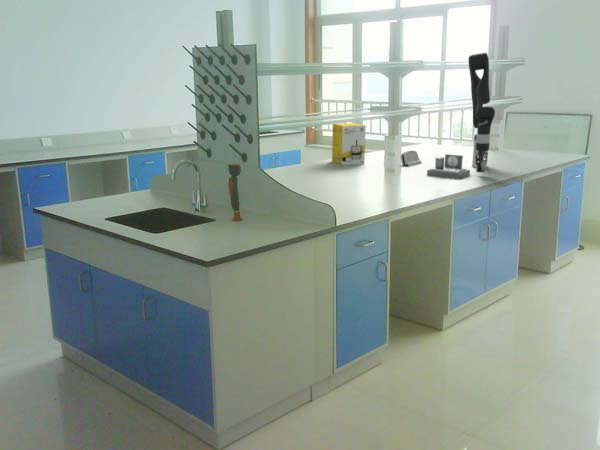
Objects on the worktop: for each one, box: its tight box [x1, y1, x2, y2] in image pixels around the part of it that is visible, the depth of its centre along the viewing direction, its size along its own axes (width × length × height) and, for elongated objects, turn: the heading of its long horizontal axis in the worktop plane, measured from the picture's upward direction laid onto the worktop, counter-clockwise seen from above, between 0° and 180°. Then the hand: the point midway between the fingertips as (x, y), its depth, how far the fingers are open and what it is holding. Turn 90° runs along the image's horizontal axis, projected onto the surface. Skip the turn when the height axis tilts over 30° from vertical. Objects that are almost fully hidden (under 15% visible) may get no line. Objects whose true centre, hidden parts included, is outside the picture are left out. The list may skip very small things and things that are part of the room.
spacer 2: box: [475, 161, 486, 173], centre depth 351 cm, size 5×5×6 cm
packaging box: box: [331, 122, 366, 166], centre depth 394 cm, size 16×16×25 cm
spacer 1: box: [434, 156, 445, 169], centre depth 354 cm, size 5×5×6 cm
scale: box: [426, 153, 471, 180], centre depth 353 cm, size 16×20×11 cm
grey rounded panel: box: [400, 150, 423, 167], centre depth 391 cm, size 17×5×10 cm, turn 139°
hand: (480, 170), depth 352 cm, fingers closed on spacer 2, 5 cm apart
